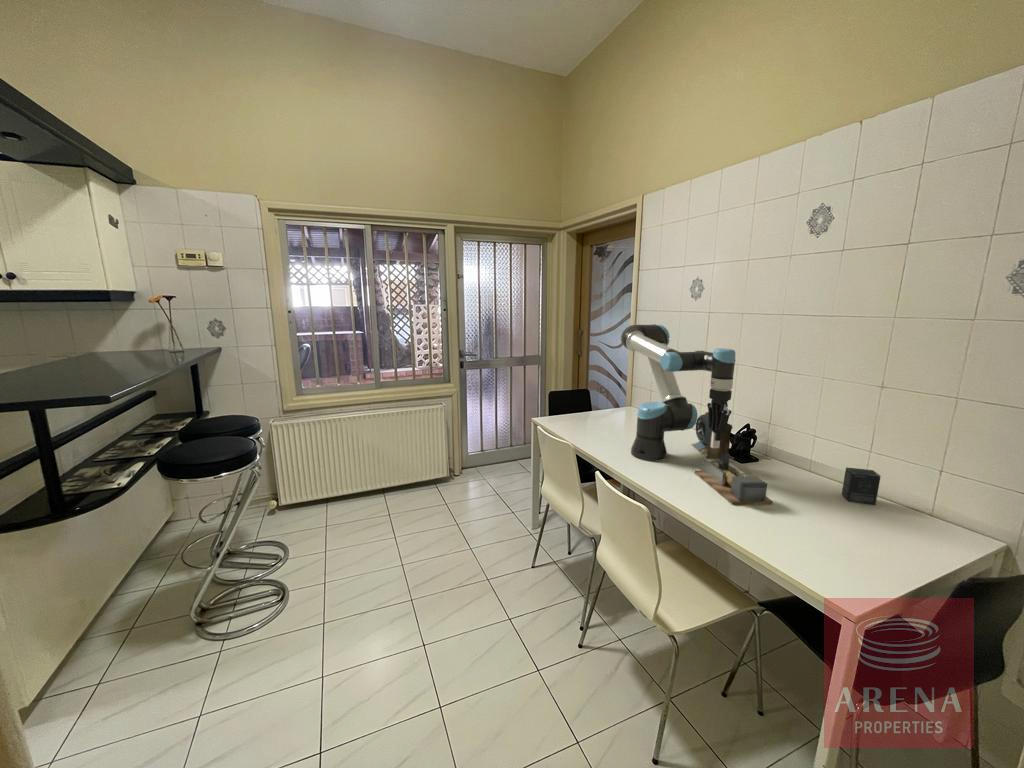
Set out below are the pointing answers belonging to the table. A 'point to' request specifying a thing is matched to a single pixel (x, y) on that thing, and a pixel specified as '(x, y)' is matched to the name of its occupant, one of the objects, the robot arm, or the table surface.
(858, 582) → the table surface
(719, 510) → the table surface
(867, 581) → the table surface
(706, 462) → the grey tilted block
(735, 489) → the socket
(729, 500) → the board
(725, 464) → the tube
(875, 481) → the box
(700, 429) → the alarm clock
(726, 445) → the container
